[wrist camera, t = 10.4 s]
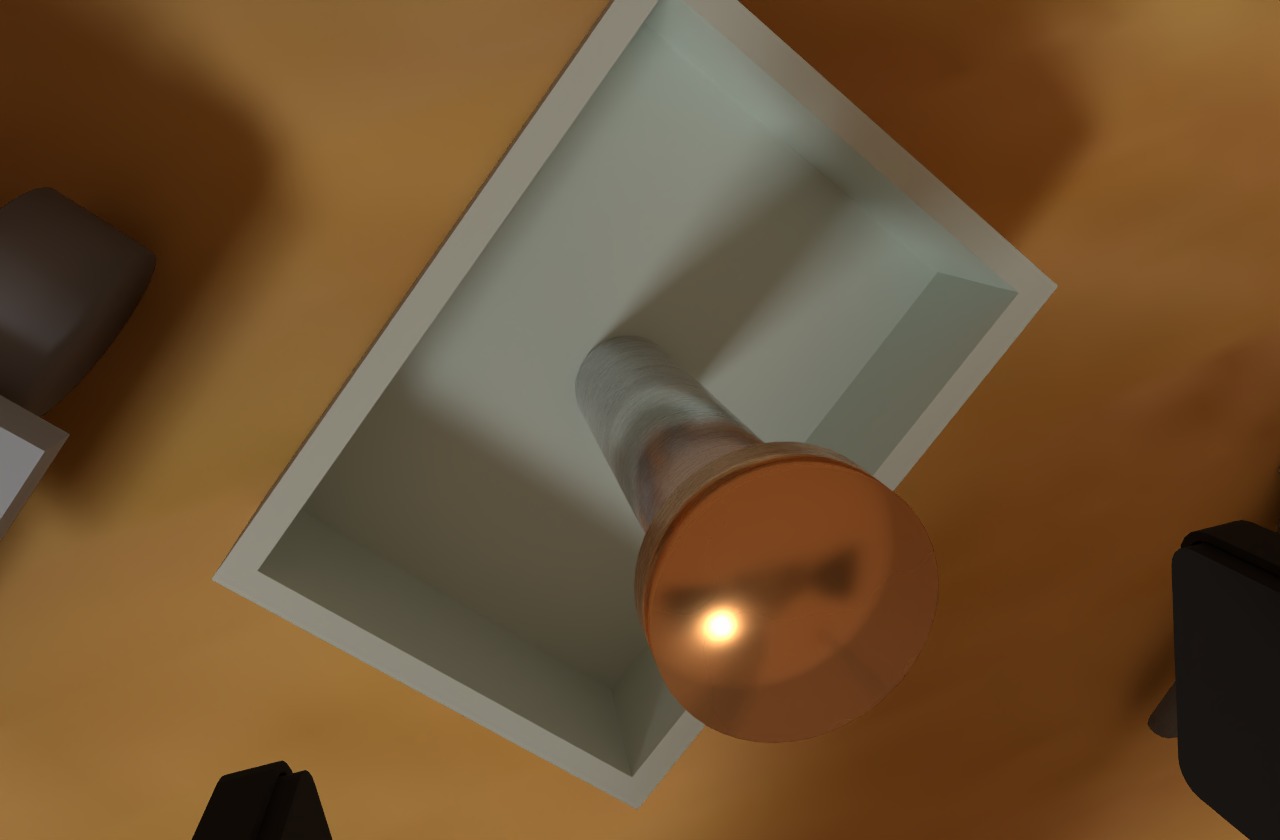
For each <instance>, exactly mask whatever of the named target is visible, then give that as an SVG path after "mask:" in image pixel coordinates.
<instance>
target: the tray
mask: <svg viewBox="0 0 1280 840" xmlns="http://www.w3.org/2000/svg"><path fill="white" fill-rule="evenodd" d="M1057 287H1058V285H1056V284H1055V283H1054V282H1053V281H1052V280H1051V279H1050V278H1049V277H1048V276H1046V275H1045V274H1044V273H1043V272H1042V271H1041V270H1040V269H1039V268H1037V267H1036V266H1035V265H1034V264H1033V263H1032V262H1031V261H1030V260H1028V259H1027V258H1026V257H1025V256H1024V255H1023V254H1022V253H1021V252H1019V251H1018V250H1017V249H1016V248H1015V247H1014V246H1013V245H1012V244H1010V243H1009V242H1008V241H1007V240H1006V239H1005V238H1004V237H1003V236H1001V235H1000V234H999V233H998V232H997V231H996V230H995V229H994V228H993V227H991V226H990V225H989V224H988V223H987V222H986V221H985V220H984V219H982V218H981V217H980V216H979V215H978V214H977V213H976V212H975V211H973V210H972V209H971V208H970V207H969V206H968V205H967V204H966V203H964V202H963V201H962V200H961V199H960V198H959V197H958V196H957V195H955V194H954V193H953V192H952V191H951V190H950V189H949V188H948V187H946V186H945V185H944V184H943V183H942V182H941V181H940V180H939V179H938V178H936V177H935V176H934V175H933V174H932V173H931V172H930V171H929V170H927V169H926V168H925V167H924V166H923V165H922V164H921V163H920V162H918V161H917V160H916V159H915V158H914V157H913V156H912V155H911V154H909V153H908V152H907V151H906V150H905V149H904V148H903V147H902V146H900V145H899V144H898V143H897V142H896V141H895V140H894V139H893V138H891V137H890V136H889V135H888V134H887V133H886V132H885V131H884V130H883V129H881V128H880V127H879V126H878V125H877V124H876V123H875V122H874V121H872V120H871V119H870V118H869V117H868V116H867V115H866V114H865V113H863V112H862V111H861V110H860V109H859V108H858V107H857V106H856V105H854V104H853V103H852V102H851V101H850V100H849V99H848V98H847V97H845V96H844V95H843V94H842V93H841V92H840V91H839V90H838V89H836V88H835V87H834V86H833V85H832V84H831V83H830V82H829V81H828V80H826V79H825V78H824V77H823V76H822V75H821V74H820V73H819V72H817V71H816V70H815V69H814V68H813V67H812V66H811V65H810V64H808V63H807V62H806V61H805V60H804V59H803V58H802V57H801V56H799V55H798V54H797V53H796V52H795V51H794V50H793V49H792V48H790V47H789V46H788V45H787V44H786V43H785V42H784V41H783V40H781V39H780V38H779V37H778V36H777V35H776V34H775V33H774V32H773V31H771V30H770V29H769V28H768V27H767V26H766V25H765V24H764V23H762V22H761V21H760V20H759V19H758V18H757V17H756V16H755V15H753V14H752V13H751V12H750V11H749V10H748V9H747V8H746V7H744V6H743V5H742V4H741V3H740V2H739V1H738V0H610V2H609V3H608V5H607V6H606V7H605V9H604V10H603V12H602V13H601V15H600V16H599V18H598V19H597V20H596V22H595V23H594V25H593V26H592V28H591V29H590V30H589V32H588V33H587V35H586V36H585V38H584V39H583V41H582V42H581V43H580V45H579V46H578V48H577V49H576V51H575V52H574V53H573V55H572V56H571V58H570V59H569V61H568V62H567V64H566V65H565V66H564V68H563V69H562V71H561V72H560V74H559V75H558V76H557V78H556V79H555V81H554V82H553V84H552V85H551V87H550V88H549V89H548V91H547V92H546V94H545V95H544V97H543V98H542V99H541V101H540V102H539V104H538V105H537V107H536V108H535V110H534V111H533V112H532V114H531V115H530V117H529V118H528V120H527V121H526V122H525V124H524V125H523V127H522V128H521V130H520V131H519V133H518V134H517V135H516V137H515V138H514V140H513V141H512V143H511V144H510V145H509V147H508V148H507V150H506V151H505V153H504V154H503V156H502V157H501V158H500V160H499V161H498V163H497V164H496V166H495V167H494V168H493V170H492V171H491V173H490V174H489V176H488V177H487V179H486V180H485V181H484V183H483V184H482V186H481V187H480V189H479V190H478V191H477V193H476V194H475V196H474V197H473V199H472V200H471V202H470V203H469V204H468V206H467V207H466V209H465V210H464V212H463V213H462V214H461V216H460V217H459V219H458V220H457V222H456V223H455V225H454V226H453V227H452V229H451V230H450V232H449V233H448V235H447V236H446V237H445V239H444V240H443V242H442V243H441V245H440V246H439V248H438V249H437V250H436V252H435V253H434V255H433V256H432V258H431V259H430V260H429V262H428V263H427V265H426V266H425V268H424V269H423V271H422V272H421V273H420V275H419V276H418V278H417V279H416V281H415V282H414V283H413V285H412V286H411V288H410V289H409V291H408V292H407V294H406V295H405V296H404V298H403V299H402V301H401V302H400V304H399V305H398V306H397V308H396V309H395V311H394V312H393V314H392V315H391V317H390V318H389V319H388V321H387V322H386V324H385V325H384V327H383V328H382V329H381V331H380V332H379V334H378V335H377V337H376V338H375V340H374V341H373V342H372V344H371V345H370V347H369V348H368V350H367V351H366V352H365V354H364V355H363V357H362V358H361V360H360V361H359V363H358V364H357V365H356V367H355V368H354V370H353V371H352V373H351V374H350V375H349V377H348V378H347V380H346V381H345V383H344V384H343V386H342V387H341V388H340V390H339V391H338V393H337V394H336V396H335V397H334V398H333V400H332V401H331V403H330V404H329V406H328V407H327V409H326V410H325V411H324V413H323V414H322V416H321V417H320V419H319V420H318V421H317V423H316V424H315V426H314V427H313V429H312V430H311V432H310V433H309V434H308V436H307V437H306V439H305V440H304V442H303V443H302V444H301V446H300V447H299V449H298V450H297V452H296V453H295V455H294V456H293V457H292V459H291V460H290V462H289V463H288V465H287V466H286V467H285V469H284V470H283V472H282V473H281V475H280V476H279V478H278V479H277V480H276V482H275V483H274V485H273V486H272V488H271V489H270V490H269V492H268V493H267V495H266V496H265V498H264V499H263V501H262V502H261V503H260V505H259V507H258V508H257V510H256V511H255V513H254V514H253V516H252V517H251V519H250V520H249V522H248V524H247V525H246V527H245V528H244V530H243V531H242V533H241V534H240V536H239V537H238V539H237V541H236V542H235V544H234V545H233V547H232V548H231V550H230V551H229V553H228V554H227V556H226V558H225V559H224V561H223V562H222V564H221V565H220V567H219V568H218V570H217V571H216V573H215V575H214V576H213V578H212V579H211V580H213V581H215V582H217V583H219V584H220V585H222V586H224V587H226V588H228V589H230V590H232V591H233V592H235V593H237V594H239V595H241V596H243V597H244V598H246V599H248V600H250V601H252V602H254V603H256V604H257V605H259V606H261V607H263V608H265V609H267V610H269V611H270V612H272V613H274V614H276V615H278V616H280V617H282V618H283V619H285V620H287V621H289V622H291V623H293V624H294V625H296V626H298V627H300V628H302V629H304V630H306V631H307V632H309V633H311V634H313V635H315V636H317V637H319V638H320V639H322V640H324V641H326V642H328V643H330V644H332V645H333V646H335V647H337V648H339V649H341V650H343V651H344V652H346V653H348V654H350V655H352V656H354V657H356V658H357V659H359V660H361V661H363V662H365V663H367V664H369V665H370V666H372V667H374V668H376V669H378V670H380V671H382V672H383V673H385V674H387V675H389V676H391V677H393V678H394V679H396V680H398V681H400V682H402V683H404V684H406V685H407V686H409V687H411V688H413V689H415V690H417V691H419V692H420V693H422V694H424V695H426V696H428V697H430V698H432V699H433V700H435V701H437V702H439V703H441V704H443V705H444V706H446V707H448V708H450V709H452V710H454V711H456V712H457V713H459V714H461V715H463V716H465V717H467V718H469V719H470V720H472V721H474V722H476V723H478V724H480V725H482V726H483V727H485V728H487V729H489V730H491V731H493V732H494V733H496V734H498V735H500V736H502V737H504V738H506V739H507V740H509V741H511V742H513V743H515V744H517V745H519V746H520V747H522V748H524V749H526V750H528V751H530V752H532V753H533V754H535V755H537V756H539V757H541V758H543V759H545V760H546V761H548V762H550V763H552V764H554V765H556V766H557V767H559V768H561V769H563V770H565V771H567V772H569V773H570V774H572V775H574V776H576V777H578V778H580V779H582V780H583V781H585V782H587V783H589V784H591V785H593V786H595V787H596V788H598V789H600V790H602V791H604V792H606V793H607V794H609V795H611V796H613V797H615V798H617V799H619V800H620V801H622V802H624V803H626V804H628V805H630V806H632V807H633V808H635V809H637V810H638V808H639V807H640V806H641V805H642V803H643V802H644V801H645V800H646V798H647V797H648V796H649V795H650V793H651V792H652V791H653V790H654V788H655V787H656V786H657V785H658V783H659V782H660V781H661V780H662V779H663V777H664V776H665V775H666V774H667V772H668V771H669V770H670V769H671V767H672V766H673V765H674V764H675V762H676V761H677V760H678V759H679V757H680V756H681V755H682V754H683V752H684V751H685V750H686V749H687V747H688V746H689V745H690V744H691V742H692V741H693V740H694V739H695V737H696V736H697V735H698V734H699V732H700V731H701V730H702V729H703V728H704V726H705V724H703V723H702V722H700V721H699V720H697V719H696V718H694V717H693V716H692V715H691V714H690V713H689V712H688V711H687V710H686V709H684V708H683V707H682V706H681V705H680V703H679V702H678V701H677V700H676V698H675V697H674V696H673V695H672V694H671V692H670V690H669V689H668V687H667V685H666V684H665V682H664V680H663V678H662V676H661V674H660V671H659V669H658V667H657V664H656V662H655V659H654V657H653V654H652V652H651V650H650V647H649V645H648V642H647V640H646V638H645V635H644V633H643V630H642V627H641V625H640V622H639V619H638V615H637V610H636V606H635V595H634V578H635V568H636V563H637V558H638V553H639V550H640V547H641V545H642V542H643V539H644V536H645V534H644V532H643V530H642V528H641V526H640V524H639V522H638V520H637V518H636V516H635V514H634V513H633V511H632V509H631V507H630V505H629V503H628V501H627V499H626V497H625V495H624V493H623V491H622V490H621V488H620V486H619V484H618V482H617V480H616V478H615V476H614V474H613V472H612V470H611V468H610V467H609V465H608V463H607V461H606V459H605V457H604V455H603V453H602V451H601V449H600V447H599V445H598V444H597V442H596V440H595V438H594V436H593V434H592V432H591V430H590V428H589V426H588V424H587V422H586V421H585V419H584V417H583V415H582V413H581V411H580V409H579V406H578V404H577V400H576V394H575V383H576V377H577V374H578V370H579V368H580V366H581V364H582V362H583V361H584V359H585V358H586V357H587V355H588V354H589V353H590V352H591V351H592V350H593V349H594V348H595V347H597V346H598V345H600V344H601V343H603V342H605V341H607V340H610V339H612V338H616V337H620V336H637V337H642V338H645V339H648V340H650V341H652V342H654V343H655V344H657V345H658V346H660V347H661V348H662V349H663V350H664V351H665V352H666V353H667V354H669V355H670V356H671V357H672V358H673V359H674V360H675V361H676V362H677V363H678V364H679V365H681V366H682V367H683V368H684V369H685V370H686V371H687V372H688V373H689V374H690V375H692V376H693V377H694V378H695V379H696V380H697V381H698V382H699V383H700V384H701V385H702V386H704V387H705V388H706V389H707V390H708V391H709V392H710V393H711V394H712V395H713V396H714V397H716V398H717V399H718V400H719V401H720V402H721V403H722V404H723V405H724V406H725V407H726V408H728V409H729V410H730V411H731V412H732V413H733V414H734V415H735V416H736V417H737V418H738V419H740V420H741V421H742V422H743V423H744V424H745V425H746V426H747V427H748V428H749V429H750V430H752V431H753V432H754V433H755V434H756V435H757V436H758V437H759V438H760V439H761V440H762V441H764V442H765V443H769V442H801V443H808V444H813V445H817V446H821V447H824V448H828V449H830V450H832V451H835V452H837V453H839V454H842V455H844V456H845V457H847V458H848V459H850V460H852V461H853V462H855V463H856V464H858V465H859V466H860V467H862V468H863V469H864V470H866V471H867V472H868V473H870V474H871V475H872V476H873V477H875V478H876V479H877V480H879V481H880V482H881V483H883V484H884V485H885V486H887V487H888V488H889V489H890V490H892V491H894V490H895V489H896V487H897V486H898V485H899V484H900V482H901V481H902V480H903V479H904V477H905V476H906V475H907V474H908V472H909V471H910V470H911V469H912V467H913V466H914V465H915V464H916V463H917V461H918V460H919V459H920V458H921V456H922V455H923V454H924V453H925V451H926V450H927V449H928V448H929V446H930V445H931V444H932V443H933V441H934V440H935V439H936V438H937V436H938V435H939V434H940V433H941V431H942V430H943V429H944V428H945V426H946V425H947V424H948V423H949V421H950V420H951V419H952V418H953V416H954V415H955V414H956V413H957V411H958V410H959V409H960V408H961V407H962V405H963V404H964V403H965V402H966V400H967V399H968V398H969V397H970V395H971V394H972V393H973V392H974V390H975V389H976V388H977V387H978V385H979V384H980V383H981V382H982V380H983V379H984V378H985V377H986V375H987V374H988V373H989V372H990V370H991V369H992V368H993V367H994V365H995V364H996V363H997V362H998V360H999V359H1000V358H1001V357H1002V356H1003V354H1004V353H1005V352H1006V351H1007V349H1008V348H1009V347H1010V346H1011V344H1012V343H1013V342H1014V341H1015V339H1016V338H1017V337H1018V336H1019V334H1020V333H1021V332H1022V331H1023V329H1024V328H1025V327H1026V326H1027V324H1028V323H1029V322H1030V321H1031V319H1032V318H1033V317H1034V316H1035V314H1036V313H1037V312H1038V311H1039V309H1040V308H1041V307H1042V306H1043V304H1044V303H1045V302H1046V301H1047V300H1048V298H1049V297H1050V296H1051V295H1052V293H1053V292H1054V291H1055V290H1056V288H1057Z"/></svg>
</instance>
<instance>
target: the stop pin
mask: <svg viewBox="0 0 1280 840" xmlns="http://www.w3.org/2000/svg"><path fill="white" fill-rule="evenodd" d="M575 394H576V400H577V404H578V406H579V409H580V411H581V413H582V415H583V417H584V419H585V421H586V422H587V424H588V426H589V428H590V430H591V432H592V434H593V436H594V438H595V440H596V442H597V444H598V445H599V447H600V449H601V451H602V453H603V455H604V457H605V459H606V461H607V463H608V465H609V467H610V468H611V470H612V472H613V474H614V476H615V478H616V480H617V482H618V484H619V486H620V488H621V490H622V491H623V493H624V495H625V497H626V499H627V501H628V503H629V505H630V507H631V509H632V511H633V513H634V514H635V516H636V518H637V520H638V522H639V524H640V526H641V528H642V530H643V532H644V534H645V536H644V539H643V542H642V545H641V547H640V550H639V553H638V558H637V563H636V568H635V578H634V595H635V606H636V610H637V615H638V619H639V622H640V625H641V627H642V630H643V633H644V635H645V638H646V640H647V642H648V645H649V647H650V650H651V652H652V654H653V657H654V659H655V662H656V664H657V667H658V669H659V671H660V674H661V676H662V678H663V680H664V682H665V684H666V685H667V687H668V689H669V690H670V692H671V694H672V695H673V696H674V697H675V698H676V700H677V701H678V702H679V703H680V705H681V706H682V707H683V708H684V709H686V710H687V711H688V712H689V713H690V714H691V715H692V716H693V717H694V718H696V719H697V720H699V721H700V722H702V723H703V724H705V725H706V726H708V727H710V728H712V729H714V730H716V731H719V732H721V733H723V734H726V735H729V736H732V737H735V738H738V739H743V740H749V741H754V742H769V743H778V742H792V741H797V740H803V739H808V738H812V737H815V736H818V735H822V734H825V733H828V732H830V731H833V730H835V729H837V728H839V727H842V726H844V725H846V724H848V723H850V722H851V721H853V720H855V719H857V718H858V717H860V716H862V715H863V714H865V713H866V712H867V711H869V710H870V709H871V708H873V707H874V706H876V705H877V704H878V703H879V702H880V701H881V700H883V699H884V698H885V697H886V696H887V695H888V694H889V693H890V692H891V691H892V690H893V689H894V688H895V687H896V686H897V685H898V684H899V682H900V681H901V680H902V679H903V678H904V677H905V675H906V674H907V672H908V671H909V670H910V668H911V667H912V665H913V664H914V663H915V661H916V659H917V657H918V655H919V654H920V652H921V650H922V648H923V646H924V644H925V642H926V639H927V637H928V635H929V632H930V630H931V626H932V623H933V619H934V616H935V611H936V605H937V599H938V571H937V562H936V558H935V554H934V550H933V546H932V544H931V541H930V539H929V536H928V534H927V532H926V530H925V528H924V526H923V525H922V523H921V521H920V520H919V518H918V516H917V515H916V514H915V513H914V511H913V510H912V509H911V508H910V507H909V506H908V504H907V503H906V502H905V501H904V500H902V499H901V498H900V497H899V496H898V495H897V494H895V493H894V492H893V491H892V490H890V489H889V488H888V487H887V486H885V485H884V484H883V483H881V482H880V481H879V480H877V479H876V478H875V477H873V476H872V475H871V474H870V473H868V472H867V471H866V470H864V469H863V468H862V467H860V466H859V465H858V464H856V463H855V462H853V461H852V460H850V459H848V458H847V457H845V456H844V455H842V454H839V453H837V452H835V451H832V450H830V449H828V448H824V447H821V446H817V445H813V444H808V443H801V442H769V443H765V442H764V441H762V440H761V439H760V438H759V437H758V436H757V435H756V434H755V433H754V432H753V431H752V430H750V429H749V428H748V427H747V426H746V425H745V424H744V423H743V422H742V421H741V420H740V419H738V418H737V417H736V416H735V415H734V414H733V413H732V412H731V411H730V410H729V409H728V408H726V407H725V406H724V405H723V404H722V403H721V402H720V401H719V400H718V399H717V398H716V397H714V396H713V395H712V394H711V393H710V392H709V391H708V390H707V389H706V388H705V387H704V386H702V385H701V384H700V383H699V382H698V381H697V380H696V379H695V378H694V377H693V376H692V375H690V374H689V373H688V372H687V371H686V370H685V369H684V368H683V367H682V366H681V365H679V364H678V363H677V362H676V361H675V360H674V359H673V358H672V357H671V356H670V355H669V354H667V353H666V352H665V351H664V350H663V349H662V348H661V347H660V346H658V345H657V344H655V343H654V342H652V341H650V340H648V339H645V338H642V337H637V336H620V337H616V338H612V339H610V340H607V341H605V342H603V343H601V344H600V345H598V346H597V347H595V348H594V349H593V350H592V351H591V352H590V353H589V354H588V355H587V357H586V358H585V359H584V361H583V362H582V364H581V366H580V368H579V370H578V374H577V377H576V383H575Z"/></svg>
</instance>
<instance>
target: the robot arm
mask: <svg viewBox="0 0 1280 840" xmlns="http://www.w3.org/2000/svg"><path fill="white" fill-rule="evenodd" d="M1172 591H1173V619H1174V648H1175V676H1176V704H1177V733H1178V759H1179V765H1180V769H1181V772H1182V774H1183V776H1184V778H1185V780H1186V782H1187V784H1188V785H1189V787H1190V788H1191V789H1192V791H1193V792H1194V793H1195V794H1196V795H1197V796H1198V797H1199V798H1200V799H1201V800H1203V801H1204V802H1205V803H1206V804H1207V805H1209V806H1210V807H1211V808H1212V809H1213V810H1215V811H1216V812H1217V813H1218V814H1219V815H1221V816H1222V817H1223V818H1224V819H1225V820H1227V821H1228V822H1229V823H1230V824H1232V825H1233V826H1234V827H1235V828H1236V829H1238V830H1239V831H1240V832H1241V833H1242V834H1244V835H1245V836H1246V837H1247V838H1248V839H1250V840H1280V534H1279V533H1276V532H1274V531H1271V530H1269V529H1267V528H1264V527H1262V526H1259V525H1257V524H1255V523H1252V522H1248V521H1244V520H1240V521H1234V522H1230V523H1226V524H1222V525H1218V526H1214V527H1210V528H1206V529H1202V530H1198V531H1194V532H1191V533H1189V534H1188V535H1187V536H1186V537H1185V538H1184V540H1183V542H1182V544H1181V549H1179V550H1178V551H1176V552H1175V554H1174V556H1173V558H1172ZM192 840H332V837H331V834H330V831H329V828H328V824H327V821H326V818H325V815H324V812H323V808H322V805H321V802H320V799H319V796H318V792H317V789H316V786H315V783H314V781H313V778H312V776H311V775H310V773H309V772H308V771H306V770H304V771H300V772H297V773H292V770H291V769H290V767H289V766H288V764H287V763H286V762H284V761H279V762H275V763H271V764H267V765H263V766H259V767H255V768H251V769H247V770H243V771H239V772H235V773H231V774H227V775H224V776H222V777H221V778H220V780H219V781H218V783H217V785H216V787H215V789H214V792H213V794H212V796H211V798H210V800H209V803H208V805H207V807H206V809H205V811H204V814H203V816H202V818H201V820H200V822H199V825H198V827H197V829H196V831H195V834H194V836H193V838H192Z"/></svg>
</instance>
